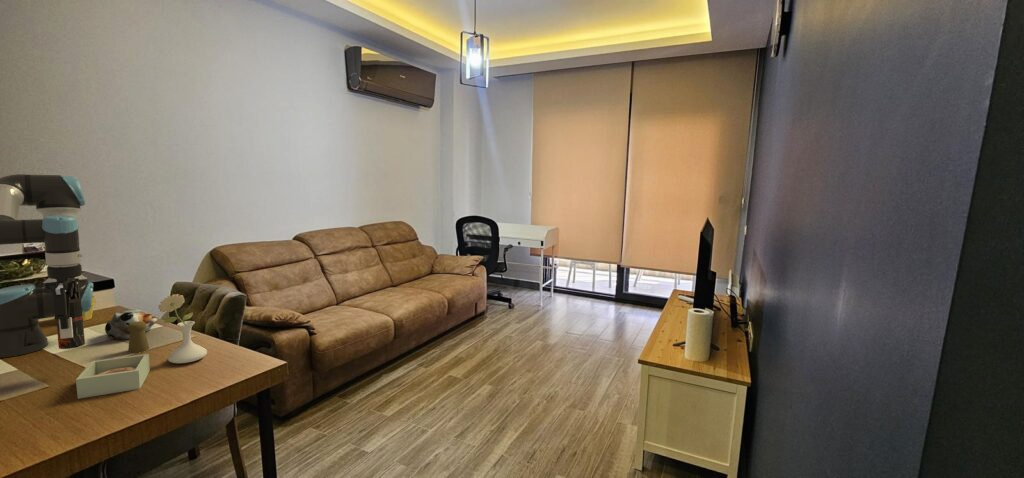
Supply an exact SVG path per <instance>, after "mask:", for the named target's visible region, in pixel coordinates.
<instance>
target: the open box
mask: <svg viewBox="0 0 1024 478" xmlns="http://www.w3.org/2000/svg"><path fill="white" fill-rule="evenodd" d="M150 366H151V365H150V354H149V353H143V354H136V355H130V356H121V357H120V356H119V357H113V358H105V359H97V360H92V361H91V362H90V363H89V364H88V365H87V366H86V367H85V369H84V370H83V371H82V372H81V373H80V374H79V376H78V377H77V378H76V379H75V383H76V384H75V385H76V393H77V399H78V400H79V399H84V398H92V397H96V396H103V395H108V394H110V395H111V394H115V393H121V392H128V391H134V390H140V389H141V388H142V386H143V384H144V382H145V380H146V379H147V377H148V374H149V373H150V371H151V369H150Z"/></svg>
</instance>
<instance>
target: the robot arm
mask: <svg viewBox="0 0 1024 478" xmlns="http://www.w3.org/2000/svg"><path fill="white" fill-rule="evenodd" d="M85 205H86V200H85V196H84V193H83V189H82V185H81V183H80V181H79V179H78V177H76V176H71V175H61V174H56V175H55V174H26V173H25V174H24V173H23V174H22V173H21V174H9V175H6V176H2V177H0V245H18V244H38V243H39V244H40V243H41V244H43V243H44V249H45V250H44V251H45V252H44V254H45V255H44V256H45V265H46V266H47V267H46V273H47V279H46V280H45V281H43V286H42V287H36V285H35V284H31V283H28V284H17V285H12V286H8V287H7V286H6V287H2V288H0V358H1V359H3V358H10V357H11V358H12V357H17V356H23V355H26V354H31V353H34V352H37V351H40V350H42V349H45V348H47V347H48V346H49V340H48V337H47V335H46V334H45V333H44V331H43V330H42V328H41V327H40V322H39V320H42V319H43V320H44V319H49V318H50V319H51V318H53V320H54V321H56V320H58V319H59V329H60V339H63V338H73V328H72V317H70V299H76V298H77V299H81V304H82V313H85V312H88V311H89V310H90V309H91V306H92V297H93V296H94V283H93V282H90V281H89V282H88V277H87V276H85V275H83V268H82V267H83V266H82V264H81V261H82V259H81V257H83V253H81V249H80V248H81V247H80V235H79V224H78V219H77V215H76V214H78V213H79V212H80V211H81V207H83V206H85ZM20 206H21V207H22V206H28V207H29V206H30V207H31V206H35V209H36V211H37V212H38V213H39V214H41V215H42V219H40V218H39V219H38V218H37V219H36V218H35V219H20Z"/></svg>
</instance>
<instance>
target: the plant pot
mask: <svg viewBox="0 0 1024 478" xmlns="http://www.w3.org/2000/svg"><path fill="white" fill-rule="evenodd" d="M94 305H96V296H94V295H93V297H92V306H91V309H90V310H89V311H88V312H85V313H82V316H83V322H85V321H89V320H91V319H92V316H93V311H94V307H95V306H94Z"/></svg>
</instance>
